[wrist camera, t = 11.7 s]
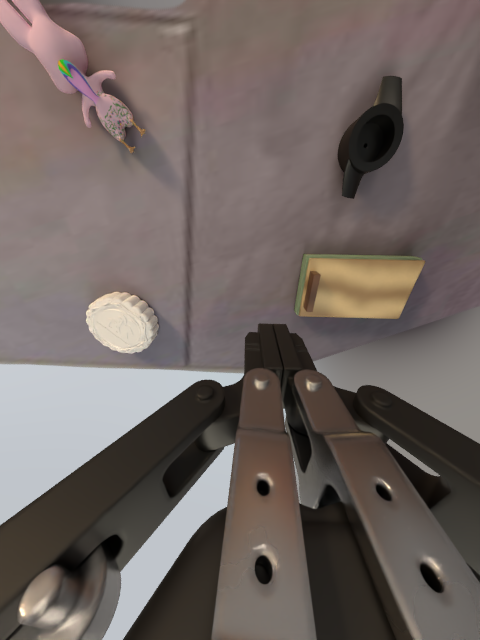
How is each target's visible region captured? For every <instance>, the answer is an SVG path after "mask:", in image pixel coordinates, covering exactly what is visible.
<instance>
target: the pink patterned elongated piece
mask: <svg viewBox="0 0 480 640" xmlns="http://www.w3.org/2000/svg"><path fill="white" fill-rule="evenodd" d="M12 1H13V3H14V4H15V5H16V6H17V7H18V8H19V10H20V11H21V12H22V13H23V14H24V16H25V17H26V18H27V19H28V20H29V21H30V22H31V23H32V27H31V26H30V25H29V24H28V23H27V22H26V21H25V20H24V19H23V18H22V17H21V15H20V14H19V13H18V12H17V11H16V10H15V9H14V8H13V7H12V6H11V5H10V4H9V3H8V2H7V1H6V0H0V22H1V24H2V25H3V26H4V28H5V29H6V30H7V31H8V32H9V34H10V35H11V36H12V37H13V38H14V39H15V40H16V41H17V42H18V43H19V44H20V45H21V46H22V47H24V48H25V49H27V50H28V51H30V52H32V53H34V54H35V55H36V56H37V58H38V59H39V61H40V62H41V63H42V65H43V66H44V67H45V69H46V70H47V72H48V74H49V75H50V77H51V79H52V80H53V82H54V84H55V85H56V87H57V88H58V89H59V90H60V91H62V92H64V93H69V94H72V93H75V92H76V91H77V90H78V91H80V92H81V93H82V110H83V115H84V119H85V123H86V125H87V127H91V122H90V119H89V108H90V107H91V106H95V107H96V111H97V115H98V117H99V119H100V121H101V123H102V124H103V126H104V127H105V129H106V130H107V131H108V132H109V133H110V134H111V135H112V136H113V137H114V138H115V139H117V140H118V141H120V142H122V143H123V144H124V145H125V146H126V147H127V148H128V149H129V150H130V152H131V153H132V152H133V151H134V148H136V147H130V146H128V145H127V144H126V143H125V142H124V139H125V137H126V132H125V127H131V126H132V125H134V126H136V128H137V129H138V130H139V131H140V133H141V137H142V135H143V134H145V133H144V132H145V131H146V130H145V129H143V130H142V129H141V128H139V127H138V126H137V125H136V124H135V123H134V118H133V115H132V113H131V111H130V110H129V109H128V108H127V106H126V105H125V104H124V103H122V102H121V101H120V100H118V99H117V98H115V97H113V96H111V95H109V94H105V93H104V92H103V89H102V86H101V84H102V82H103V81H104V80H105V79H107V78H110V79H115V78H116V75H115V73H114V72H113V71H99V72H97V73H94V74H93V75H91V76H89V77H87V76H86V71H87V68H88V58H87V54H86V50H85V48H84V45H83V43H82V42H81V40H80V39H79V38H78V37H76V36H75V35H73V34H71V33H70V32H68V31H66V30H65V29H63V28H61V27H60V26H58V25H57V24H56V23H54V22H53V21H52V20H51V19H50V18H49V16H48V15H47V13H46V11H45V9H44V8H43V6H42V4H41V3H40V1H39V0H12ZM132 155H133V154H132Z"/></svg>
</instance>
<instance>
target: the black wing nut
mask: <svg viewBox="0 0 480 640" xmlns="http://www.w3.org/2000/svg"><path fill="white" fill-rule="evenodd" d="M403 127H404V125H403V118H402V78H400V77H397V76H385V77H383V79H382V83H381V86H380V89H379V93H378V95H377V98H376V101H375V103H374V106H373V107H371V108H370V109H368V110H367V111H366V112H365V113H364V114H363V115H361V116H360V117H359V118H358V119H357V120H356V121H355V122H354V123H352V124H351V125H350V126H349V127H348V129H347V130H346V131H345V133H344V135H343V137H342V139H341V141H340V144H339V149H338V161H339V165H340V167H341V169H342V170H343V171H344V178H343V188H342V196H344V197H347V198H353V199H354V197H355V194H356V191H357V188H358V186H359V183H360V181H361V178H362V176H363V175H364V174H366V173H368V172H371V171H374V170H376V169H378V168H380V167H382V166H383V165H385V164H386V163H387V162H388V161H389V160H390V159H391V158H392V156H393V155H394V154H395V152H396V151H397V149H398V147H399V145H400V142H401V139H402V135H403Z"/></svg>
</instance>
